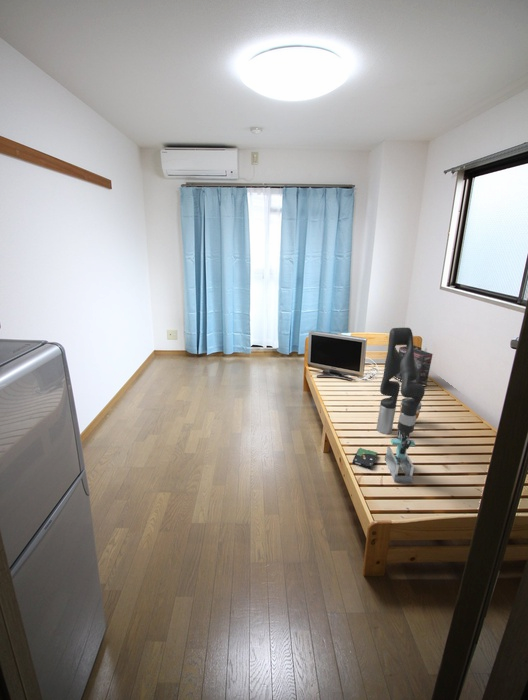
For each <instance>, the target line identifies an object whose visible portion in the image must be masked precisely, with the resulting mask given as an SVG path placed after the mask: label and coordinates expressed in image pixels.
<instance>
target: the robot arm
mask: <svg viewBox="0 0 528 700" xmlns="http://www.w3.org/2000/svg"><path fill="white" fill-rule="evenodd" d="M387 345H388V347H387V353H386V357H385V363H384V369H383V376H382V380H381V383H380V387H379V388H380V389H379V392H380V395H383V396H387V397H385V398H382V399H381V400H380V404H379V411H378V417H377V423H376V431H377V432H379V433H381V434H387V435H389V434H391V433H392V431H393V427H394V420H395V414H396V407H397V404H398V403H397V402H398V397H399V393H401V395H402V397H403V398H411V399H410V400H405V401H403V403H402V407H401V406H400V407H401V413H400V412H399V416H398V422H397V427H396V428H397V437H396V439H400V440H401V443H402V444H401V451H400V453H401V454H405V451H406V452H407V450H409V448H410V447H411V446H410V444H411V441H410V440H411V439H410V434H411V433H413V432H414V428H415V425H416V422H415V420H416V421H417V419H416V412H417V407H418V405H419V403H420V402H421V403H422V399H423V398H424V396H425V392H426V391H425V387H423V385H421V384H415V383H409V382H410V381H414V380H416V379H417V372H416V367H415V362H414V346H415V345H414V335H413V331H412V329H411V328H410V327H393V328H391V329H390V331H389V335H388V343H387ZM396 346H407V350H406V352H405V355H404V356H403V358H402V357H401V355H400V354H399V350H397V348H396ZM400 371H401V374H402V382H401V383H399V382H397V381H394V380H391V379H393V378H395V376H396V375H397V374H399V372H400ZM400 384H401V385H400ZM403 444H404V445H403ZM406 449H407V450H406Z"/></svg>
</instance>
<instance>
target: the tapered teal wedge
mask: <svg viewBox="0 0 528 700" xmlns="http://www.w3.org/2000/svg"><path fill="white" fill-rule="evenodd" d="M409 440H410V441H411V444H410V446H409V447H416V443H415V440H414V439H409ZM390 442H391V444H392V446H396V451H395V456H397V457H398V458H405V455H406V453H407V450H408V449H406V451H405V454H401V453H400V451H401V444H402V443H401V440H400V439H397V438H390ZM403 445H404V444H403Z"/></svg>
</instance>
